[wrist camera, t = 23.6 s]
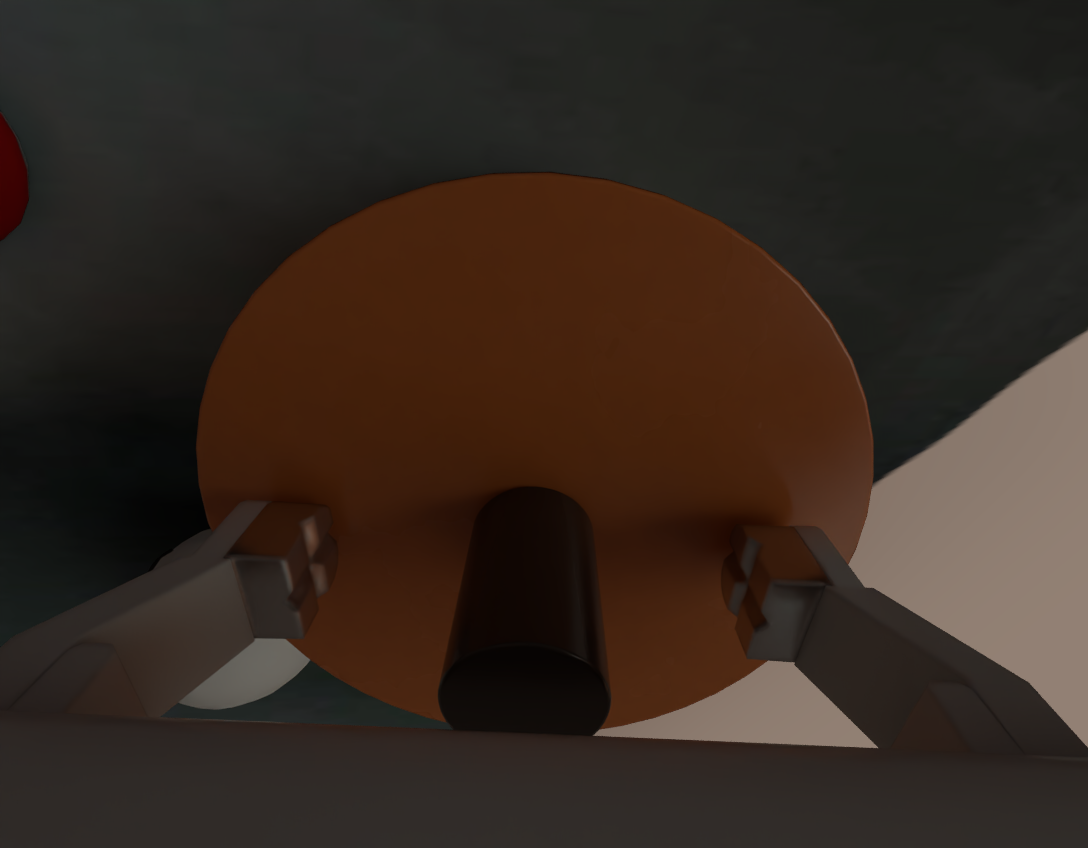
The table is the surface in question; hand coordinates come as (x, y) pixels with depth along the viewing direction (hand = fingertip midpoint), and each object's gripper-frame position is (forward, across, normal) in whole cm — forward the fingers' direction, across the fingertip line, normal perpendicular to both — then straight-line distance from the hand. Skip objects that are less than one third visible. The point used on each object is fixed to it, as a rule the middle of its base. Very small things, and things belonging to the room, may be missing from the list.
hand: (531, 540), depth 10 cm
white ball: (+12, +13, +12) cm, 21 cm away
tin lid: (+1, 0, 0) cm, 1 cm away
